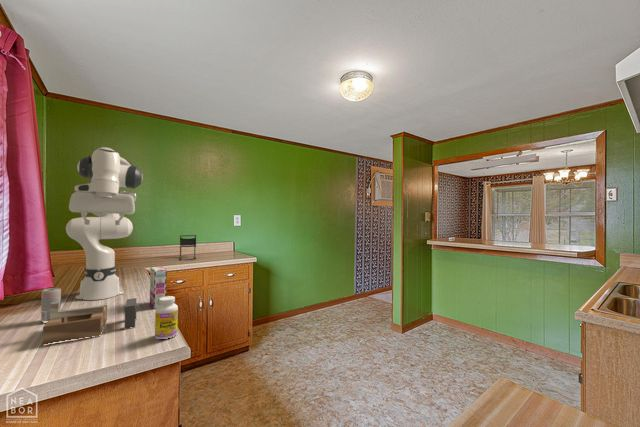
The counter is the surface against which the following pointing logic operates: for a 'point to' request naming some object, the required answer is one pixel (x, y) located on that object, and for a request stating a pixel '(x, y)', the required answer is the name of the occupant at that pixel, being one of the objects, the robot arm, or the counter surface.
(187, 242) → the chair
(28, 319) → the counter surface
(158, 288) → the candy bar box
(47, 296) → the energy drink
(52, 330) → the shelf
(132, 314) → the gray block
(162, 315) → the supplement bottle
